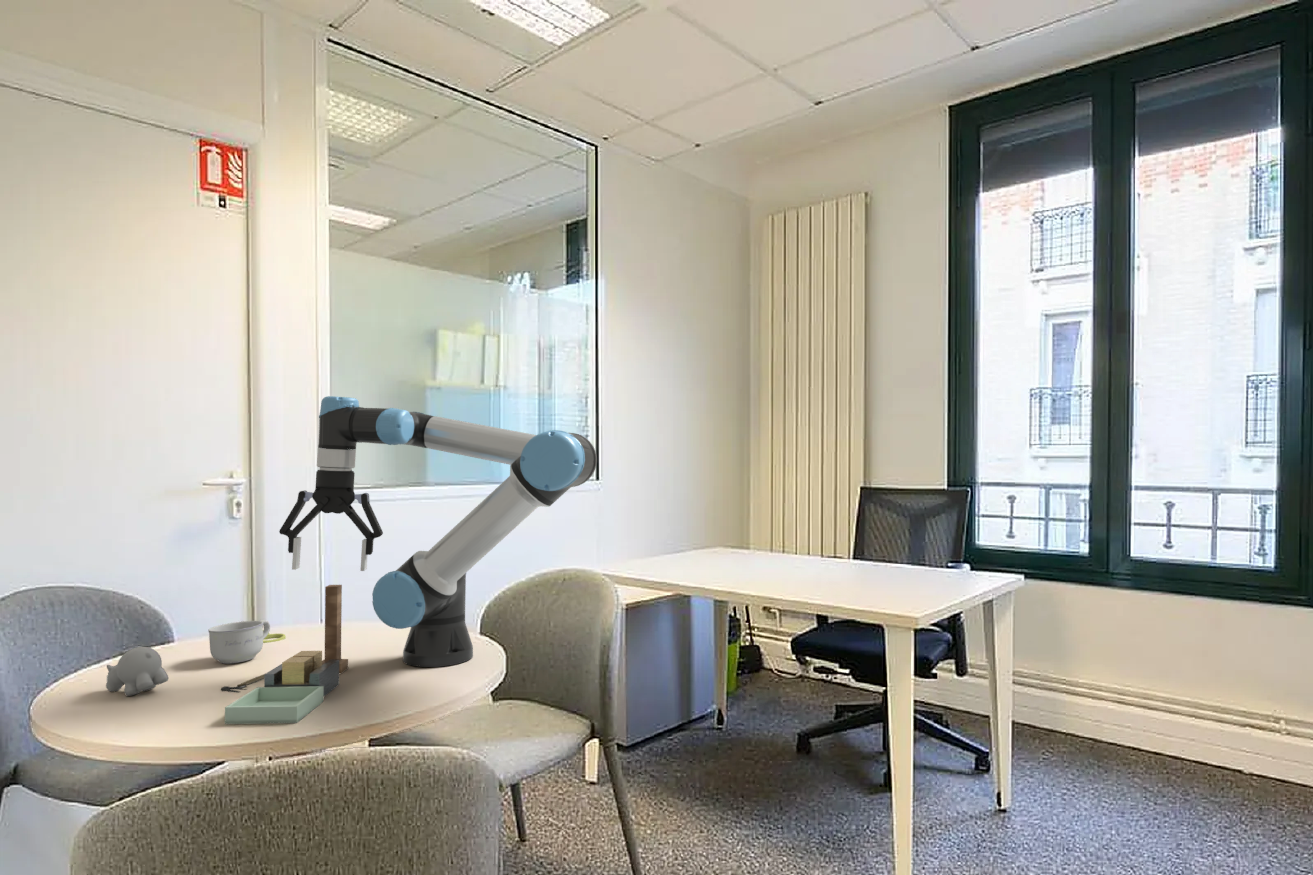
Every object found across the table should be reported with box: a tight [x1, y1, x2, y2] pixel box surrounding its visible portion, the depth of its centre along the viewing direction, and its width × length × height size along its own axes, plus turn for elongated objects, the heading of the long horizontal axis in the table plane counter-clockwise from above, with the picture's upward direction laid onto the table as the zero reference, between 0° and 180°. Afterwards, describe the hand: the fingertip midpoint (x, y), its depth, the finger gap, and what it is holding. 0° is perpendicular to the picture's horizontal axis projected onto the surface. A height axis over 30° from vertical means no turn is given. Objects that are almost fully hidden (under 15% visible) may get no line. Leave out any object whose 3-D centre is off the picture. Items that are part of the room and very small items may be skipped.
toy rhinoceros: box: [105, 646, 169, 697], centre depth 147 cm, size 7×12×8 cm, turn 74°
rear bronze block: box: [292, 650, 323, 671], centre depth 148 cm, size 4×4×4 cm
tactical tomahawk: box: [220, 672, 267, 693], centre depth 157 cm, size 21×7×1 cm, turn 165°
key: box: [263, 629, 287, 644], centre depth 190 cm, size 7×12×2 cm, turn 61°
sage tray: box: [224, 686, 324, 725], centre depth 135 cm, size 12×12×3 cm
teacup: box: [207, 619, 271, 665], centre depth 171 cm, size 14×11×8 cm
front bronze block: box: [281, 656, 313, 684], centre depth 144 cm, size 4×4×4 cm
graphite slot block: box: [263, 659, 340, 698], centre depth 146 cm, size 10×10×5 cm
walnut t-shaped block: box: [322, 584, 349, 674], centre depth 161 cm, size 5×4×18 cm
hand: (329, 569), depth 161 cm, fingers open, 13 cm apart
